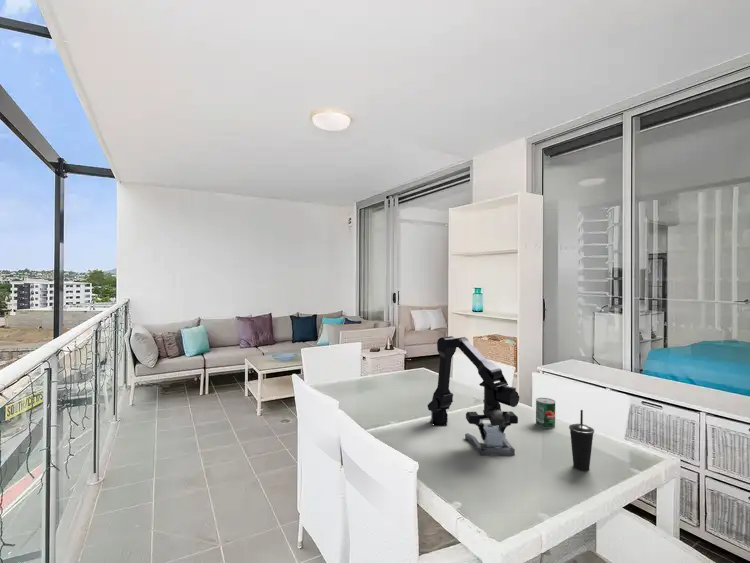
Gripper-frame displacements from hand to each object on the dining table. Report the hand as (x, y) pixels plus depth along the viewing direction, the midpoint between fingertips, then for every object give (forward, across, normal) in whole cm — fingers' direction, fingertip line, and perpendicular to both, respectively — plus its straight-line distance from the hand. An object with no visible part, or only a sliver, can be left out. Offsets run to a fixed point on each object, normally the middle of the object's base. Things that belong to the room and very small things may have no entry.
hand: (491, 439), depth 147 cm
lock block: (+1, 0, 0) cm, 1 cm away
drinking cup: (+3, +26, -16) cm, 31 cm away
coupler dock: (+3, 0, 0) cm, 3 cm away
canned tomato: (+3, +31, +21) cm, 38 cm away
